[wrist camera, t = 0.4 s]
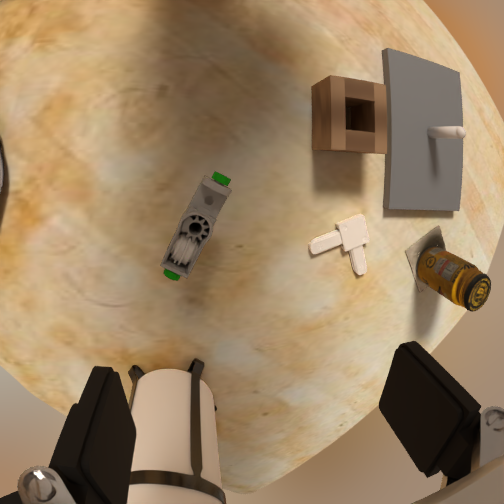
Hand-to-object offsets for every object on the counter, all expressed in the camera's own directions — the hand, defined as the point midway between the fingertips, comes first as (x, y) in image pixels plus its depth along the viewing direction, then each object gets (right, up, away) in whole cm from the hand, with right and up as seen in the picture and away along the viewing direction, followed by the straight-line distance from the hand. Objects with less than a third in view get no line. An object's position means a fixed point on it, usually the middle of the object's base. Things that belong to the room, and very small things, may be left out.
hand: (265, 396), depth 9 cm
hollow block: (+10, +21, +25) cm, 34 cm away
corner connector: (+11, +5, +31) cm, 34 cm away
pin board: (+24, +22, +27) cm, 42 cm away
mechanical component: (-7, +10, +27) cm, 29 cm away
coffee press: (-13, -17, +34) cm, 40 cm away
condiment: (+27, +4, +34) cm, 43 cm away
